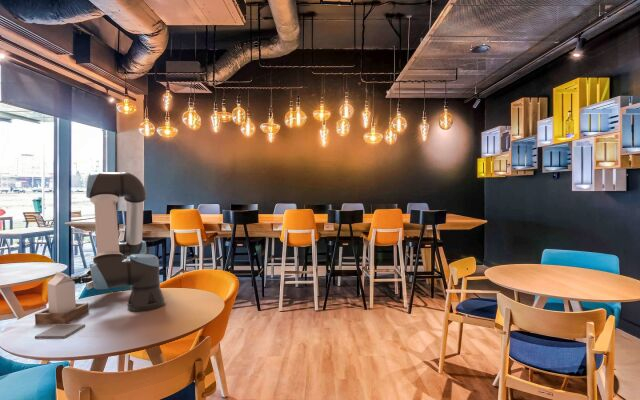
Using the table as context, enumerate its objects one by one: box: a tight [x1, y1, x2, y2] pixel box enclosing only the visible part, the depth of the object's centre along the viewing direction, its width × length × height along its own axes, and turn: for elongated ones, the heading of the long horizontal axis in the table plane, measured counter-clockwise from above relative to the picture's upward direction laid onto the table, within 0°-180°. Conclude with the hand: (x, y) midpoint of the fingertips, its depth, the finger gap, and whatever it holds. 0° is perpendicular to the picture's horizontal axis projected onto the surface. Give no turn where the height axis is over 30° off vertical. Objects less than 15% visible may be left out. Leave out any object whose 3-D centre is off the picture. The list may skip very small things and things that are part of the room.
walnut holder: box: [34, 302, 90, 325], centre depth 153 cm, size 13×13×4 cm
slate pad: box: [34, 323, 86, 339], centre depth 138 cm, size 11×11×1 cm
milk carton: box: [46, 271, 76, 313], centre depth 153 cm, size 7×7×19 cm
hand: (71, 287), depth 160 cm, fingers open, 13 cm apart
